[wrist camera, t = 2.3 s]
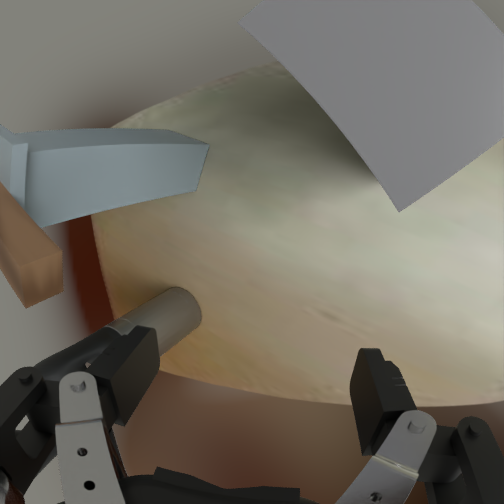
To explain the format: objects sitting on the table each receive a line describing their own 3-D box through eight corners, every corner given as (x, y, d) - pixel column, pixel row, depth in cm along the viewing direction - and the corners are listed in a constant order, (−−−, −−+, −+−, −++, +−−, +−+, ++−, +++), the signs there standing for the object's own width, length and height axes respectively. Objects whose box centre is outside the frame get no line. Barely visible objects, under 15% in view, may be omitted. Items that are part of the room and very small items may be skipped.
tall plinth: (205, 205, 48) (14, 265, 21) (154, 179, 51) (-17, 215, 24) (225, 140, 43) (12, 145, 16) (169, 121, 47) (-15, 123, 19)
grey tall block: (450, 139, 29) (550, 100, 6) (392, 180, 34) (398, 212, 11) (392, 66, 30) (373, -72, 7) (336, 107, 35) (237, 22, 12)
